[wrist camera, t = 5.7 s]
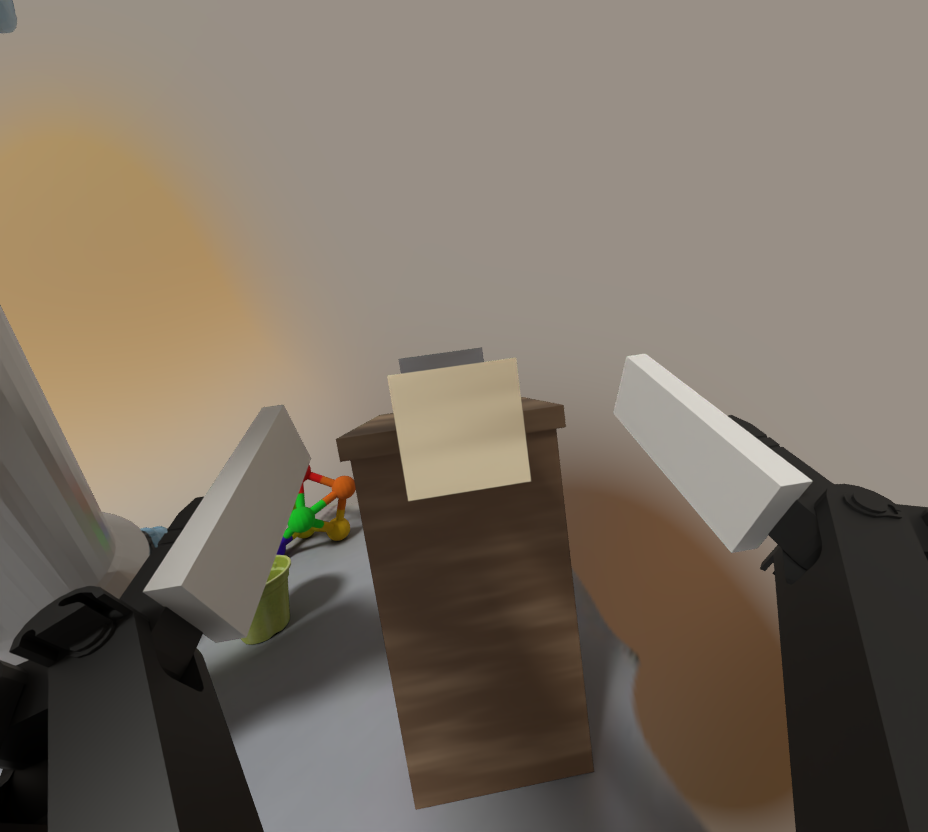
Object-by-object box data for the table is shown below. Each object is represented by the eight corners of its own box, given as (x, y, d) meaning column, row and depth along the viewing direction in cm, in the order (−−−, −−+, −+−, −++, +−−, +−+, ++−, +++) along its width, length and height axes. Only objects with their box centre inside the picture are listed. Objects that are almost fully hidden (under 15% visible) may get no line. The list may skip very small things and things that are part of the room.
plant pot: (289, 645, 43) (276, 584, 42) (212, 664, 42) (196, 603, 41) (310, 599, 53) (299, 549, 52) (246, 614, 51) (234, 563, 50)
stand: (420, 652, 39) (379, 414, 36) (542, 629, 40) (513, 395, 37) (408, 820, 24) (335, 439, 21) (603, 777, 25) (563, 405, 22)
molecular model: (373, 528, 75) (350, 446, 71) (330, 574, 61) (299, 474, 57) (300, 531, 81) (276, 456, 78) (246, 573, 67) (213, 483, 63)
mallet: (415, 410, 35) (408, 364, 35) (478, 400, 36) (472, 355, 35) (323, 514, 8) (279, 296, 7) (610, 468, 8) (590, 258, 7)
